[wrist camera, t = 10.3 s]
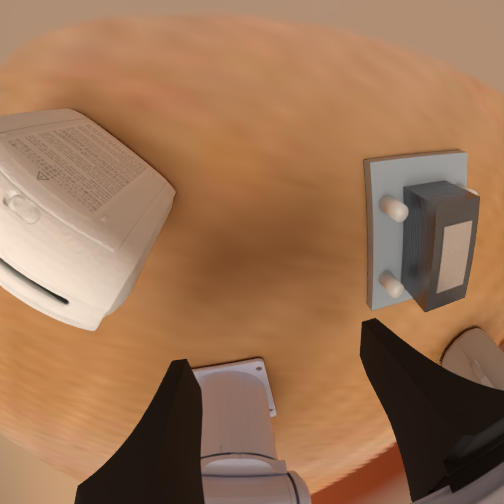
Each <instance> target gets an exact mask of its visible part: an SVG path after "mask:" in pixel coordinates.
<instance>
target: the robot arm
mask: <svg viewBox="0 0 504 504" xmlns="http://www.w3.org/2000/svg"><path fill="white" fill-rule="evenodd" d="M360 357H361V360H362V363H363V366H364V369H365V371H366V374H367V376H368V378H369V380H370V382H371V384H372V386H373V388H374V390H375V392H376V394H377V396H378V398H379V400H380V402H381V404H382V406H383V408H384V410H385V412H386V414H387V416H388V418H389V421H390V423H391V426H392V429H393V431H394V434H395V437H396V440H397V443H398V446H399V449H400V453H401V456H402V460H403V464H404V468H405V472H406V475H407V480H408V485H409V490H410V496H411V500H412V503H410V504H504V391H503V390H499V389H495V388H491V387H488V386H485V385H482V384H479V383H476V382H473V381H471V380H468V379H466V378H464V377H462V376H459V375H457V374H455V373H453V372H451V371H449V370H447V369H445V368H443V367H442V366H440V365H438V364H436V363H435V362H433V361H432V360H430V359H428V358H427V357H425V356H424V355H422V354H421V353H420V352H418V351H417V350H415V349H414V348H413V347H411V346H410V345H409V344H407V343H406V342H405V341H403V340H402V339H401V338H400V337H398V336H397V335H396V334H395V333H393V332H392V331H391V330H390V329H388V328H387V327H386V326H385V325H384V324H382V323H381V322H380V321H379V320H377V319H376V318H374V319H370V320H367V321H363V322H362V330H361V345H360ZM276 414H277V413H276V409H275V405H274V401H273V397H272V393H271V389H270V385H269V381H268V377H267V373H266V369H265V365H264V361H263V360H262V359H260V358H257V359H252V360H246V361H241V362H235V363H230V364H224V365H218V366H212V367H205V368H199V369H191V367H190V365H189V363H188V361H187V359H182V360H175V361H172V362H171V364H170V366H169V368H168V370H167V372H166V374H165V376H164V378H163V380H162V382H161V384H160V386H159V388H158V390H157V392H156V394H155V396H154V398H153V400H152V401H151V403H150V405H149V407H148V408H147V410H146V412H145V413H144V415H143V417H142V418H141V420H140V421H139V423H138V424H137V426H136V427H135V429H134V430H133V432H132V433H131V434H130V436H129V437H128V438H127V440H126V441H125V442H124V443H123V445H122V446H121V447H120V448H119V449H118V450H117V452H116V453H115V454H114V455H113V456H112V457H111V458H110V459H109V460H108V461H107V462H106V463H105V464H104V465H103V466H102V467H101V468H100V469H99V470H98V471H96V472H95V473H94V474H93V475H92V476H90V477H89V478H88V479H86V480H85V481H84V482H83V483H81V484H80V485H78V488H77V492H76V497H75V503H74V504H311V498H310V493H309V490H308V487H307V485H306V483H305V481H304V480H303V479H302V478H301V477H300V476H299V475H298V474H297V473H296V472H295V471H287V468H286V463H285V461H284V460H278V458H277V452H276V446H275V440H274V435H273V429H272V423H271V417H274V416H276Z"/></svg>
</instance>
